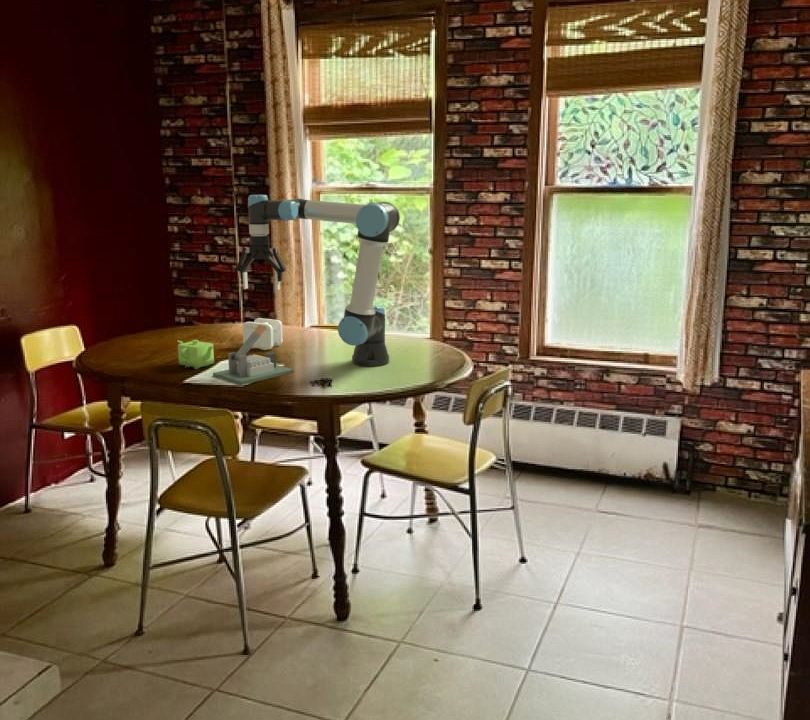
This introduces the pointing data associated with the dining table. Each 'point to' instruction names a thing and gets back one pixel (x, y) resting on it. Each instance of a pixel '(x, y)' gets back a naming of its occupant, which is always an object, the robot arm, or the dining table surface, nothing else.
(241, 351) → the orange-tipped flat strip
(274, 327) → the cable organizer
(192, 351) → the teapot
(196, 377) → the dining table surface
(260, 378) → the heatsink board
